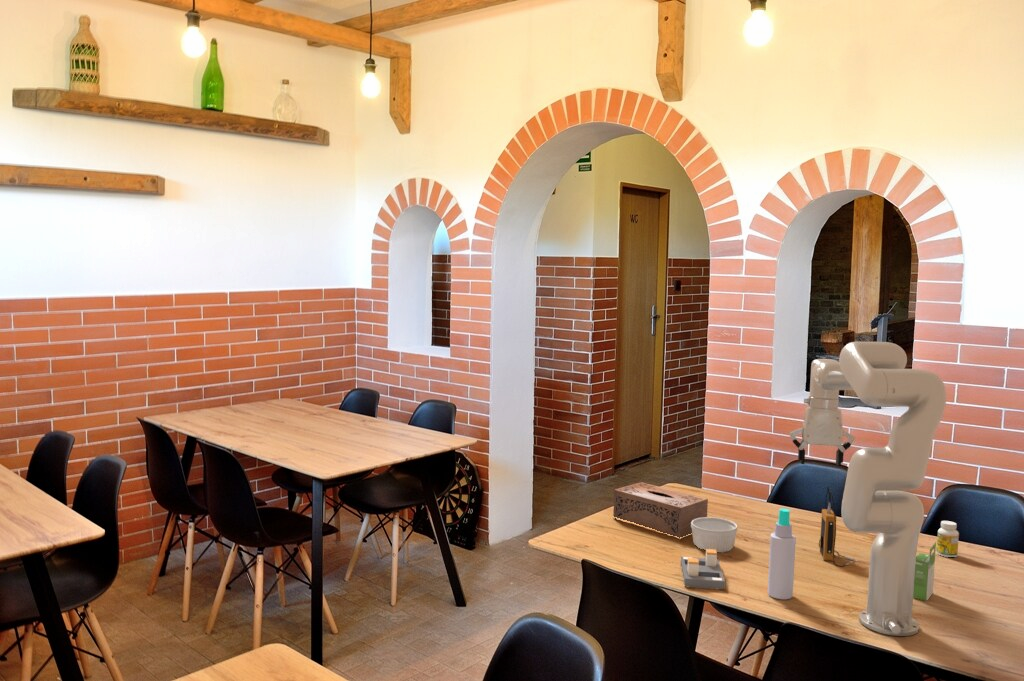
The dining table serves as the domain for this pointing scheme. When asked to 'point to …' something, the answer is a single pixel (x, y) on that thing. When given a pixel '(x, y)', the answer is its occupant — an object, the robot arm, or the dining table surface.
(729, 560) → the dining table surface
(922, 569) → the ink box
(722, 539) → the ramekin
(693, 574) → the white upright block
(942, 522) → the supplement bottle
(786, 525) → the spray bottle
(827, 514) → the multimeter
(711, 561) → the tab
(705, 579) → the switch board
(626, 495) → the tissue box cover
